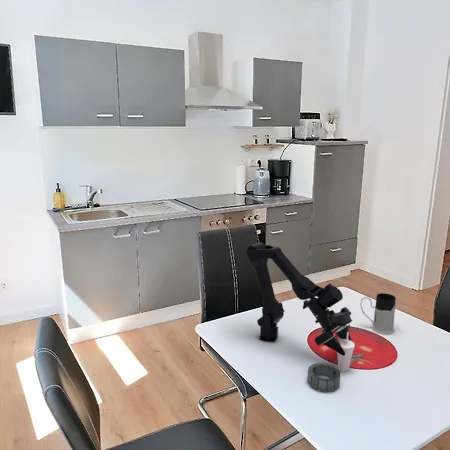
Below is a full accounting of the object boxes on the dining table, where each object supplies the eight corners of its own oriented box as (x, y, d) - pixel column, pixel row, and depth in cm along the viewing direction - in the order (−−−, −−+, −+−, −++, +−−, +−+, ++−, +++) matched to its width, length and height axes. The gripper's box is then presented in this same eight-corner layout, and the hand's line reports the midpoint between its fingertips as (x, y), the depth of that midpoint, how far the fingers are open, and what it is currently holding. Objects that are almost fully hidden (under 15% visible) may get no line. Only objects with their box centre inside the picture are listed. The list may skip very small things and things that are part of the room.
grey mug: (394, 336, 166) (398, 302, 163) (358, 331, 170) (361, 297, 167) (392, 326, 175) (396, 294, 171) (358, 322, 179) (361, 290, 175)
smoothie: (353, 374, 140) (356, 337, 137) (334, 372, 141) (337, 335, 138) (351, 364, 146) (354, 328, 143) (333, 362, 148) (336, 326, 144)
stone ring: (305, 388, 132) (306, 377, 131) (309, 371, 142) (310, 360, 141) (338, 394, 129) (339, 383, 128) (340, 376, 139) (341, 366, 138)
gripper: (324, 311, 134) (354, 353, 130) (349, 294, 148) (376, 332, 143) (302, 325, 141) (329, 365, 136) (328, 308, 155) (353, 344, 150)
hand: (348, 351), depth 141 cm, fingers closed on smoothie, 6 cm apart
